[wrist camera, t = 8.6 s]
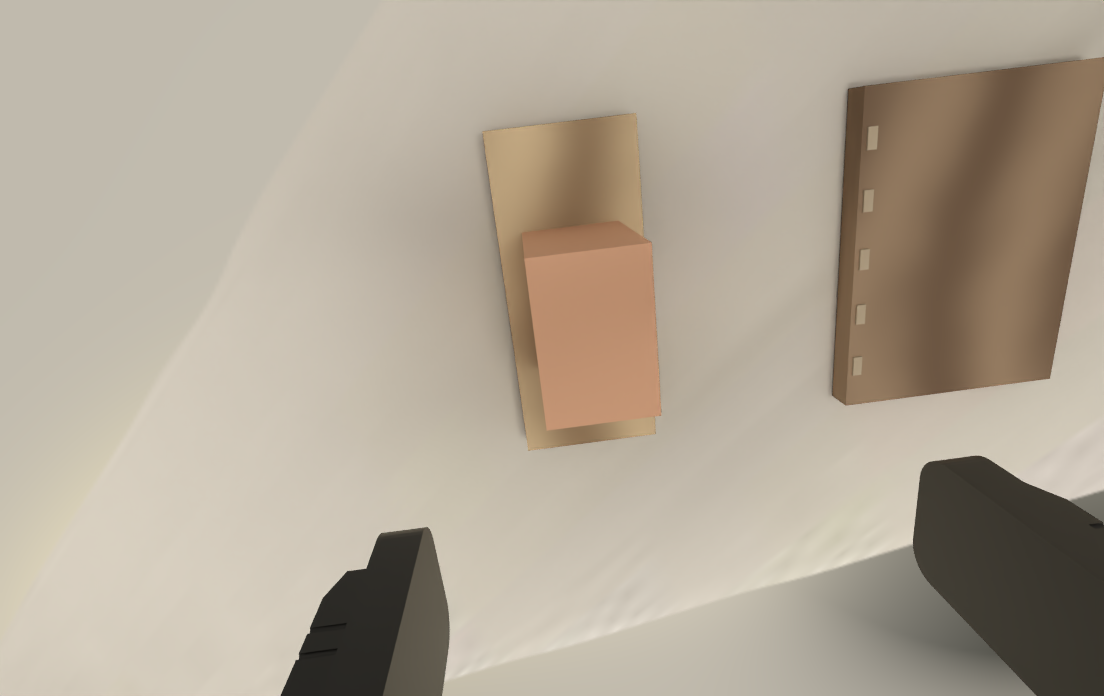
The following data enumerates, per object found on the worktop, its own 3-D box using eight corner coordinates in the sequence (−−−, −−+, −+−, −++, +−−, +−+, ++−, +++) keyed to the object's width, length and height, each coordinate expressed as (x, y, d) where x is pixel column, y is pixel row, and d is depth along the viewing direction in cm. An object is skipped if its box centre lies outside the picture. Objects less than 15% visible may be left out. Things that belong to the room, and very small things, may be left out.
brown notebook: (1082, 61, 24) (1112, 56, 23) (1028, 369, 29) (1051, 379, 28) (848, 88, 24) (866, 85, 23) (832, 395, 29) (846, 406, 27)
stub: (630, 114, 23) (678, 100, 17) (650, 422, 28) (693, 509, 21) (483, 132, 23) (471, 125, 17) (527, 438, 28) (532, 531, 21)
